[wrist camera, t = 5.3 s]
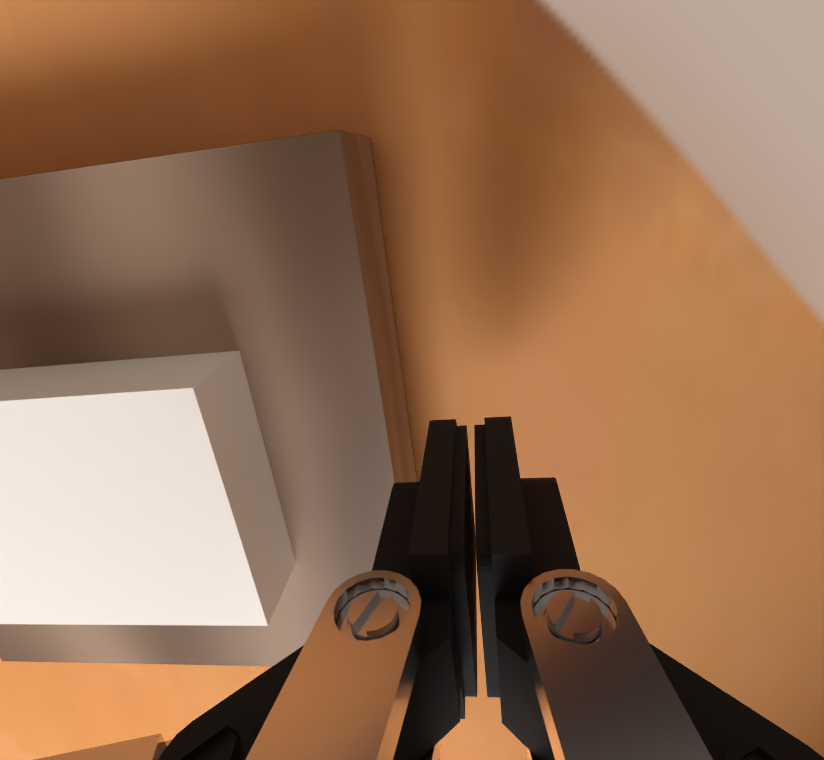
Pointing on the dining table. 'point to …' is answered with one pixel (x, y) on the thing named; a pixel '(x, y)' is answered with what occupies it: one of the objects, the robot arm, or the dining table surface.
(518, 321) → the dining table surface
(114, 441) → the tile
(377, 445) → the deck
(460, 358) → the dining table surface
